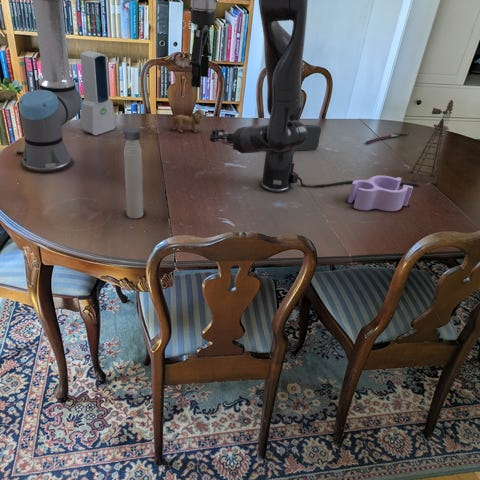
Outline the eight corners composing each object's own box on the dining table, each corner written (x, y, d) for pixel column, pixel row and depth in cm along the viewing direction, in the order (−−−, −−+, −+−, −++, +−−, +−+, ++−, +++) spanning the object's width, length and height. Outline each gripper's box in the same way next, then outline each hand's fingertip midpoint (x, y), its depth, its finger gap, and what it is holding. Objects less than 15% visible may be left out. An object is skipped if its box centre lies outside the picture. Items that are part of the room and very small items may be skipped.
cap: (142, 136, 126) (142, 129, 124) (135, 141, 122) (135, 133, 121) (129, 134, 126) (128, 126, 125) (122, 138, 123) (121, 130, 122)
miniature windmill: (435, 184, 175) (463, 105, 159) (412, 180, 176) (438, 101, 160) (432, 174, 182) (458, 98, 166) (410, 171, 183) (434, 94, 167)
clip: (360, 214, 150) (365, 195, 146) (341, 196, 159) (346, 177, 156) (412, 209, 156) (418, 190, 152) (390, 192, 166) (396, 174, 162)
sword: (404, 132, 223) (404, 129, 222) (409, 134, 221) (409, 132, 220) (360, 143, 207) (361, 141, 206) (365, 146, 205) (366, 143, 204)
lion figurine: (201, 127, 203) (202, 107, 198) (204, 132, 199) (205, 111, 194) (168, 129, 198) (168, 108, 193) (170, 133, 194) (171, 112, 189)
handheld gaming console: (315, 147, 196) (319, 124, 190) (317, 149, 194) (322, 126, 188) (264, 149, 189) (267, 125, 183) (266, 152, 187) (269, 127, 181)
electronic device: (93, 136, 184) (86, 56, 167) (80, 131, 187) (72, 52, 170) (116, 128, 193) (112, 52, 177) (103, 124, 196) (97, 48, 180)
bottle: (146, 212, 139) (144, 130, 125) (138, 219, 135) (136, 135, 121) (131, 208, 140) (128, 126, 126) (123, 216, 136) (119, 132, 122)
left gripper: (207, 16, 130) (204, 93, 141) (222, 6, 151) (217, 74, 162) (181, 13, 130) (179, 89, 141) (199, 3, 151) (196, 71, 162)
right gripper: (273, 134, 138) (243, 137, 151) (234, 118, 130) (206, 123, 143) (267, 159, 138) (238, 160, 151) (228, 144, 130) (200, 147, 143)
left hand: (200, 81), depth 152 cm, fingers open, 13 cm apart
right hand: (222, 142), depth 147 cm, fingers open, 8 cm apart
